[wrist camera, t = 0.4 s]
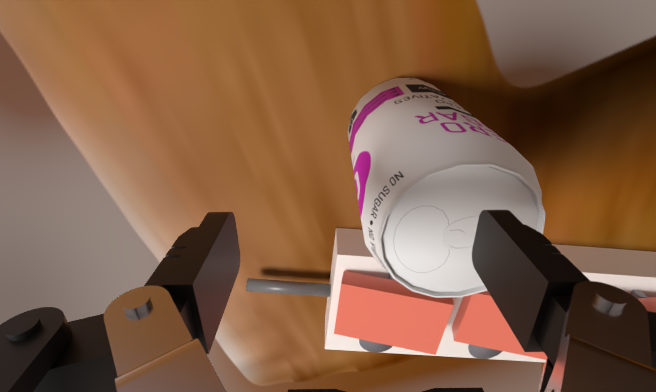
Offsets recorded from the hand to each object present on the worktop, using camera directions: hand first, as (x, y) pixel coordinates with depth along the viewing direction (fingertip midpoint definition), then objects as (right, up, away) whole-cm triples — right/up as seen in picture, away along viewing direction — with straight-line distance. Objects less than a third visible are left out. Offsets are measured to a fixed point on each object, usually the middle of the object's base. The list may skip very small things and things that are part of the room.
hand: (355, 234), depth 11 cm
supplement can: (+5, +7, +17) cm, 19 cm away
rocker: (+4, -9, +18) cm, 21 cm away
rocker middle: (+15, -10, +19) cm, 26 cm away
